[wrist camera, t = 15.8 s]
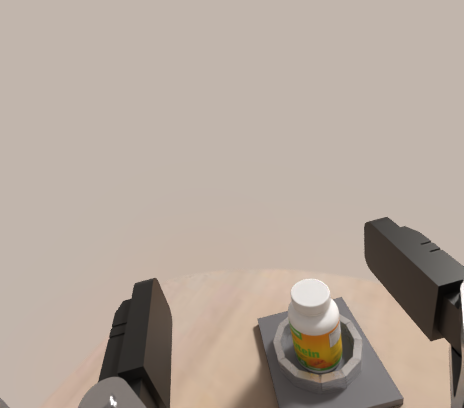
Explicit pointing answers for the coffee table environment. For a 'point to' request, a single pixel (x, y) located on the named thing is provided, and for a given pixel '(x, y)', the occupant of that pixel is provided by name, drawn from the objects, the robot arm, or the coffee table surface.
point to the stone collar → (325, 381)
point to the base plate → (339, 402)
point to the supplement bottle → (315, 326)
